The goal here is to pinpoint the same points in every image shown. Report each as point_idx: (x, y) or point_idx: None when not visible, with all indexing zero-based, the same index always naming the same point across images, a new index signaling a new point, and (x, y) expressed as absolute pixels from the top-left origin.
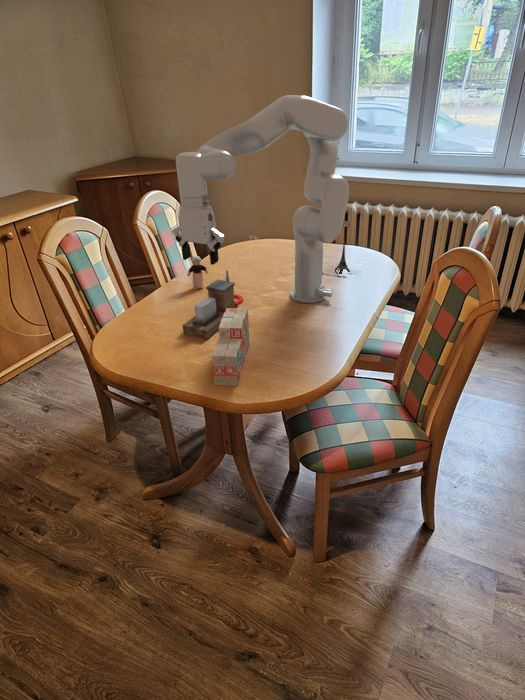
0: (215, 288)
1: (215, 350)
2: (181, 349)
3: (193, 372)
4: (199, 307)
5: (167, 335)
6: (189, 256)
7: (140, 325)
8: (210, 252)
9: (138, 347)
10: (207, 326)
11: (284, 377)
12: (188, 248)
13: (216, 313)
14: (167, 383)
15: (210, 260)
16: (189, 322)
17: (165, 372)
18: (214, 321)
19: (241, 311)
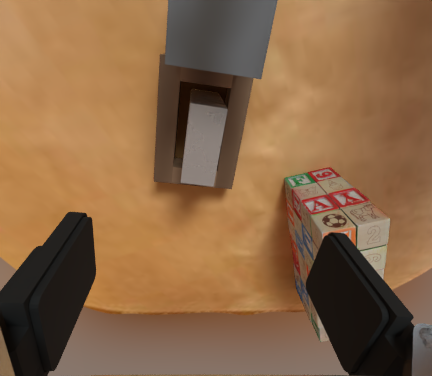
0: (216, 71)
1: (321, 330)
2: (191, 227)
3: (249, 275)
4: (201, 183)
5: (124, 189)
6: (90, 236)
7: (17, 167)
8: (354, 373)
9: (99, 247)
10: (223, 167)
11: (406, 243)
12: (59, 292)
13: (221, 98)
14: (222, 306)
15: (316, 307)
16: (163, 162)
17: (203, 288)
18: (230, 136)
19: (373, 240)
